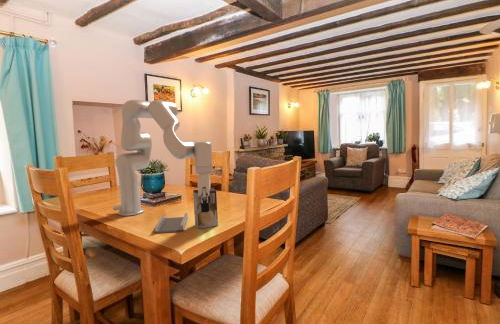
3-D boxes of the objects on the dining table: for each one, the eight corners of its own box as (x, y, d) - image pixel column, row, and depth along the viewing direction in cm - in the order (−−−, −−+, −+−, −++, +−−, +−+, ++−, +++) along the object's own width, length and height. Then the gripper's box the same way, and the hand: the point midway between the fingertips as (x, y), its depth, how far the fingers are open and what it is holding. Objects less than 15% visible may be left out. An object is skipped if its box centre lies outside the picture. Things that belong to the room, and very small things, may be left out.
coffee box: (214, 221, 128) (212, 187, 126) (218, 225, 122) (217, 190, 120) (194, 224, 124) (192, 189, 123) (197, 229, 119) (196, 192, 117)
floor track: (155, 233, 115) (155, 227, 115) (163, 219, 133) (163, 214, 132) (183, 231, 116) (183, 225, 116) (187, 218, 134) (187, 213, 134)
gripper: (196, 167, 129) (198, 204, 131) (193, 173, 112) (195, 215, 113) (212, 167, 130) (214, 203, 132) (212, 172, 112) (214, 214, 114)
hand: (205, 209), depth 122 cm, fingers closed on coffee box, 7 cm apart
